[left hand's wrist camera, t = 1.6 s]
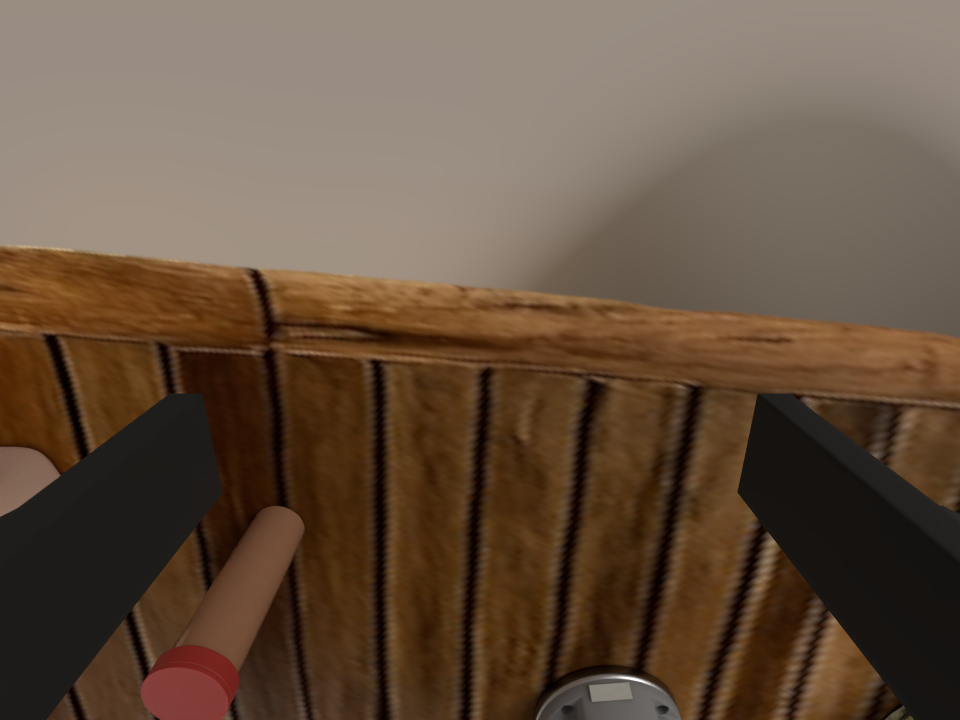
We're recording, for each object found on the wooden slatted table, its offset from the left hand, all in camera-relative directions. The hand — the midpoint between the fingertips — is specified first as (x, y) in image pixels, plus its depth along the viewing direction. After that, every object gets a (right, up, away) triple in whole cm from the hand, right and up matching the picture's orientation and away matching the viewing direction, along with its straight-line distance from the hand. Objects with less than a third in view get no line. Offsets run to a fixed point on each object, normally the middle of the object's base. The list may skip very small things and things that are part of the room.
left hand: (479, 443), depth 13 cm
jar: (-18, -13, +35) cm, 41 cm away
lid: (-18, -19, +20) cm, 33 cm away
